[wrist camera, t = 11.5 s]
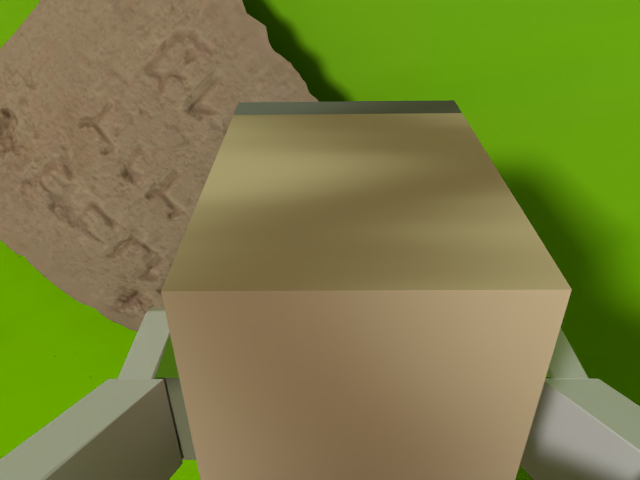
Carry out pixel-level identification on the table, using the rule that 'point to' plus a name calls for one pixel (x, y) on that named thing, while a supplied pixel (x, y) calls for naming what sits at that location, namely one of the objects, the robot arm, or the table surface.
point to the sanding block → (360, 299)
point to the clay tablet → (122, 135)
